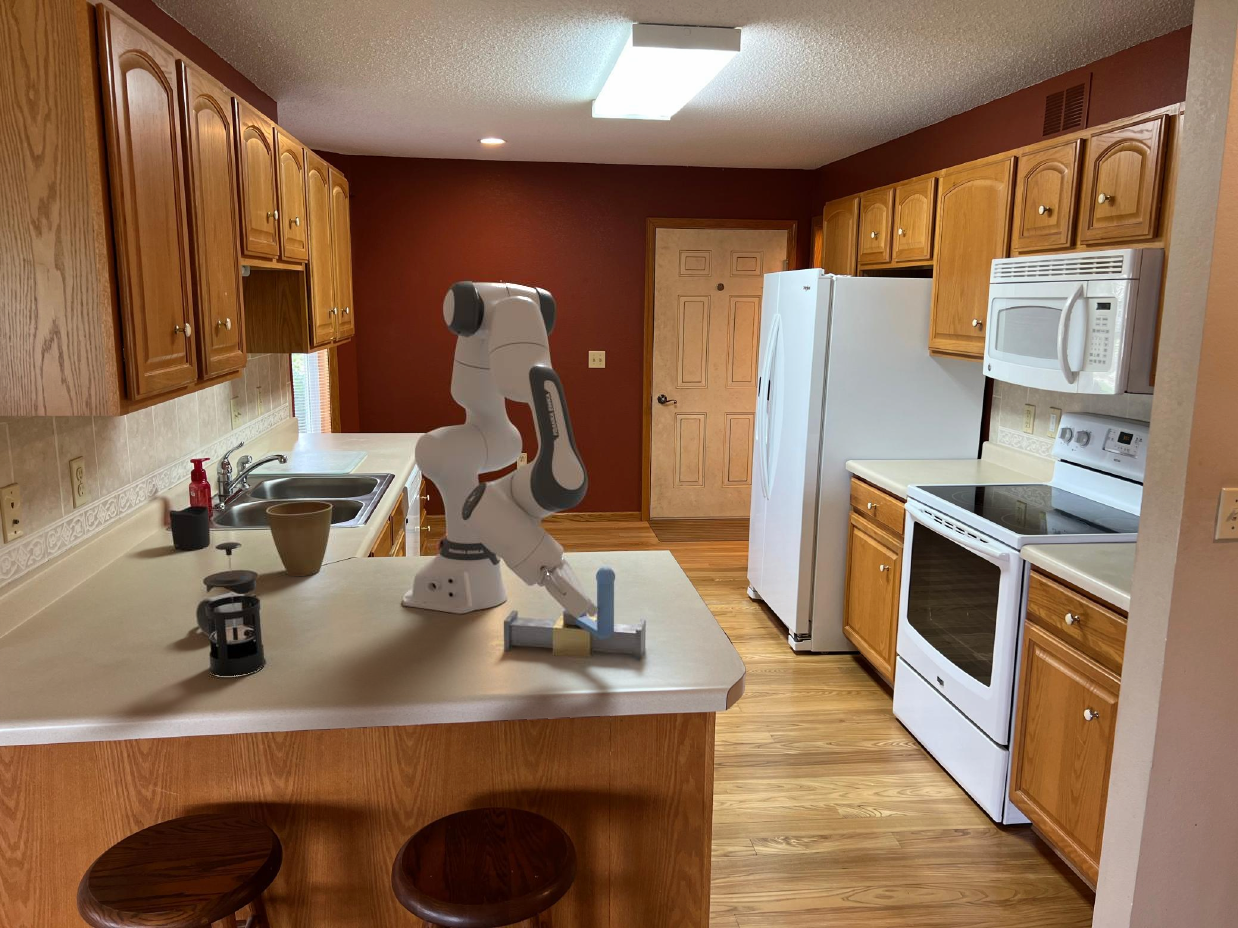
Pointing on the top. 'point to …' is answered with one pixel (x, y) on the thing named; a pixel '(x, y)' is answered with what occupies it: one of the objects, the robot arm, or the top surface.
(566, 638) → the valve pipe
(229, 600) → the french press
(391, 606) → the top surface
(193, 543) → the pen holder
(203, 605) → the ceramic mug
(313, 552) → the plant pot
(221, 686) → the top surface
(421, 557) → the top surface
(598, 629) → the lever
